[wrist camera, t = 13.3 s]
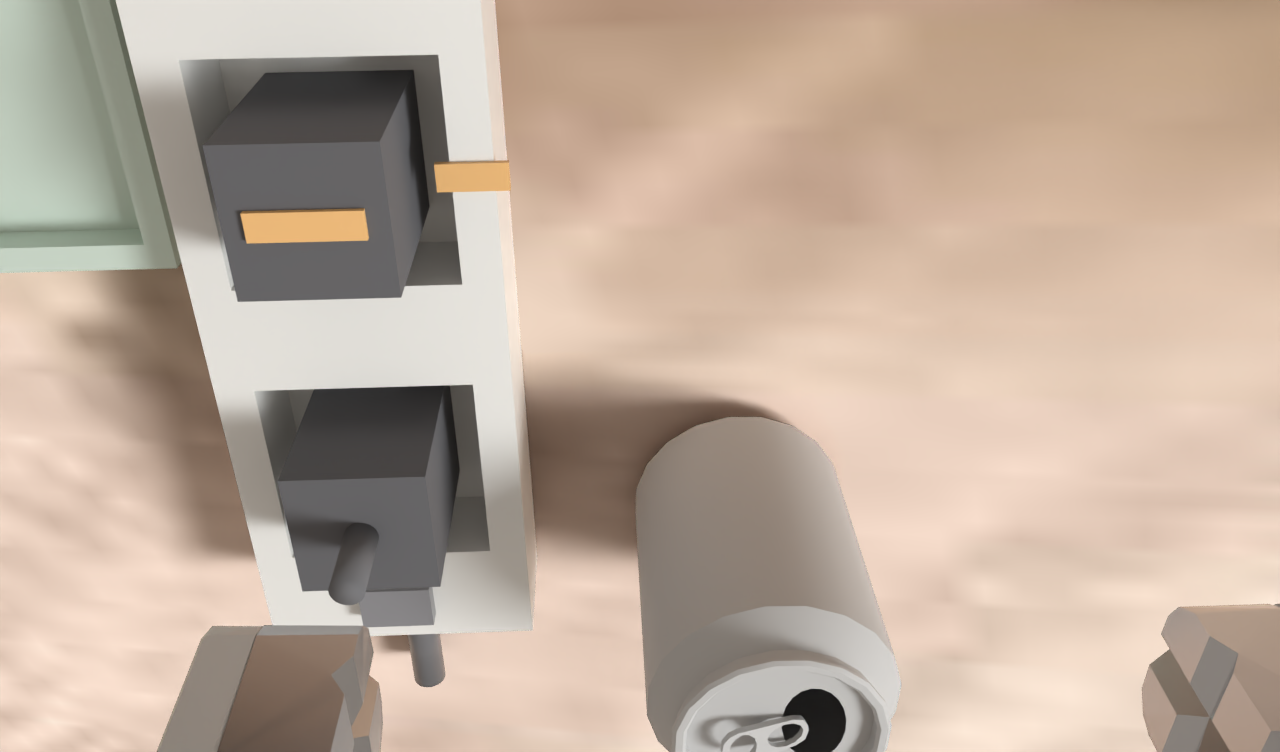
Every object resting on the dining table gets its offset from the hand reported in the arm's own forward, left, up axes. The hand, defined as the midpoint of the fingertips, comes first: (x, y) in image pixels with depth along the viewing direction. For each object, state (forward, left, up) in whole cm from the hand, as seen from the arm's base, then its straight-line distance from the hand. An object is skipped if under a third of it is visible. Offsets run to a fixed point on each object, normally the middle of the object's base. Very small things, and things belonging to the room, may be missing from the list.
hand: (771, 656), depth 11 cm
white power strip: (+10, -9, -25) cm, 28 cm away
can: (+17, +3, -25) cm, 30 cm away
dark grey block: (+3, -9, -24) cm, 25 cm away
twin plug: (+13, -9, -24) cm, 28 cm away
